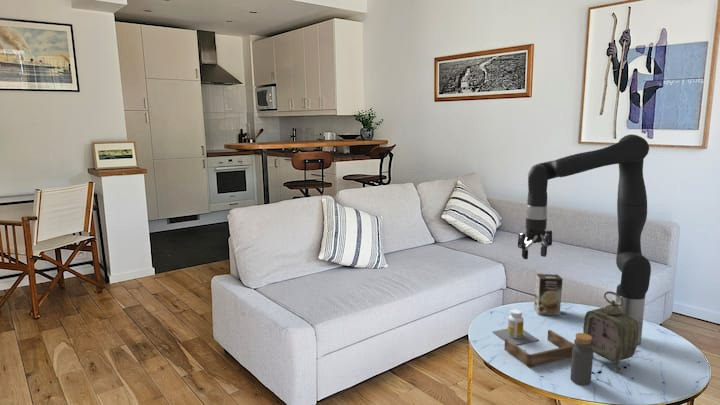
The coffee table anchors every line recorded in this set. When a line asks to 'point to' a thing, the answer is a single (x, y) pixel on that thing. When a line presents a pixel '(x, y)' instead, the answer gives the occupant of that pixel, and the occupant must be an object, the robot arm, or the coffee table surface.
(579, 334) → the bottle
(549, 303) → the coffee box
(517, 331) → the supplement bottle
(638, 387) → the coffee table surface
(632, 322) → the tabletop clock
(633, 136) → the robot arm
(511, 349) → the walnut u-shaped bay
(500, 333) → the rubber mat
